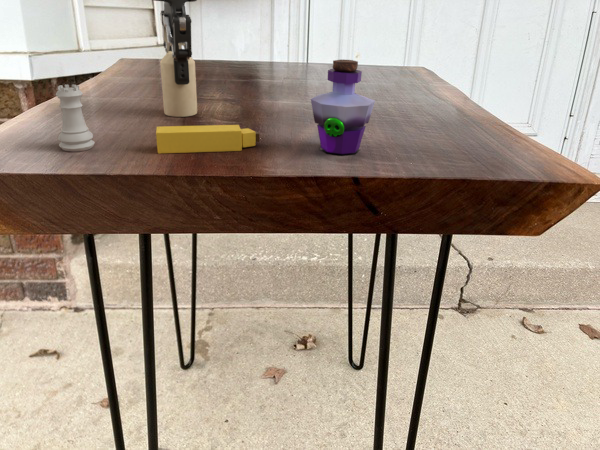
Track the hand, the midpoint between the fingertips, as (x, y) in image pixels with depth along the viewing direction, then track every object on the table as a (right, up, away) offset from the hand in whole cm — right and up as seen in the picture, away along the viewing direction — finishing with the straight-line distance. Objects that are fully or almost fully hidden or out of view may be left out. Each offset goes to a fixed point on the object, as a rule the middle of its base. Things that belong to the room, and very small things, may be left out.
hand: (178, 80), depth 87 cm
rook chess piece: (-10, -14, -17) cm, 24 cm away
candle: (0, -5, +2) cm, 6 cm away
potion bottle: (+25, -14, -14) cm, 32 cm away
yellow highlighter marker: (+8, -13, -15) cm, 22 cm away
